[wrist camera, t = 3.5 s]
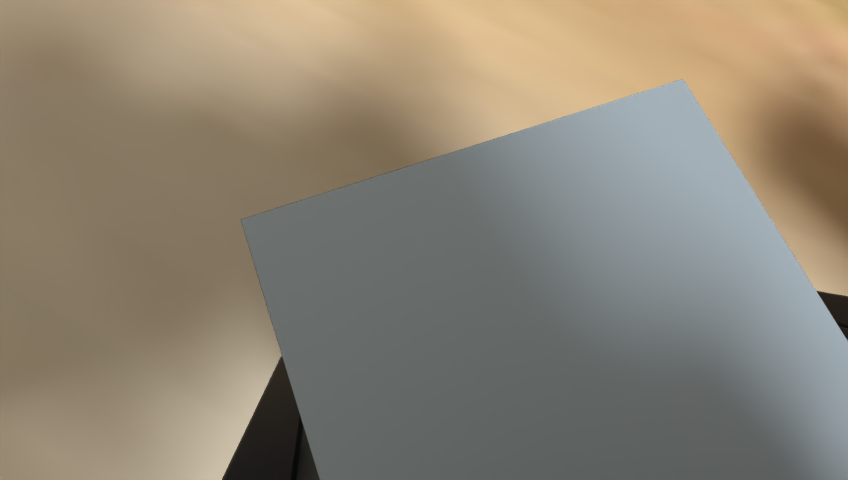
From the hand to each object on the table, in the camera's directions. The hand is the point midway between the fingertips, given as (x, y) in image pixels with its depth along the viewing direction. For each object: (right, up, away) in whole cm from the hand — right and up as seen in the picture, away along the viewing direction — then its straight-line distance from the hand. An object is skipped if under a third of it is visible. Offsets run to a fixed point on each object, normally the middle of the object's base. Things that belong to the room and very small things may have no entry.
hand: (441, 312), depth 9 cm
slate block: (0, -3, +6) cm, 7 cm away
